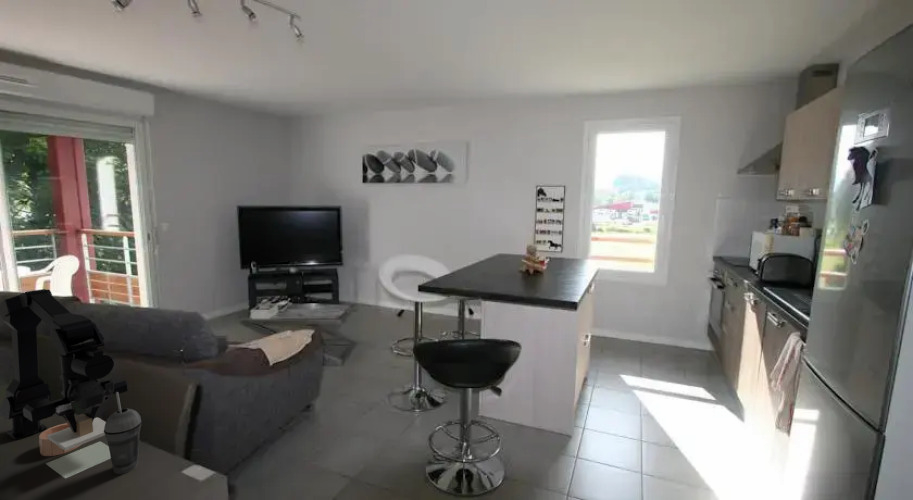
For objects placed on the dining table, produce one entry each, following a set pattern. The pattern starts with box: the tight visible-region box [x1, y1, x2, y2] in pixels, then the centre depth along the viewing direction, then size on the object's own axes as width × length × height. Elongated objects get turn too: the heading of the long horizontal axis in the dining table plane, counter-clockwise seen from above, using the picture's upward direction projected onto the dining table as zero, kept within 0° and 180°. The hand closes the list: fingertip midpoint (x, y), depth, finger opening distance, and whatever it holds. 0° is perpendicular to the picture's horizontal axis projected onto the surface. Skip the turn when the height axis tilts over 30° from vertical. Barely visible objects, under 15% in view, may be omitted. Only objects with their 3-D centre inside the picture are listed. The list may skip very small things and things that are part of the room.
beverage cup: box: [104, 392, 143, 475], centre depth 99 cm, size 7×7×20 cm
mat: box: [45, 440, 111, 480], centre depth 103 cm, size 11×11×1 cm
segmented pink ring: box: [38, 422, 81, 457], centre depth 108 cm, size 8×8×5 cm
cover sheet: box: [47, 413, 106, 451], centre depth 102 cm, size 10×10×4 cm
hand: (82, 429), depth 102 cm, fingers closed on cover sheet, 2 cm apart
